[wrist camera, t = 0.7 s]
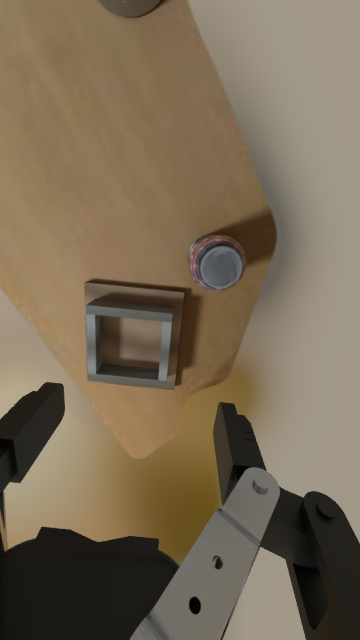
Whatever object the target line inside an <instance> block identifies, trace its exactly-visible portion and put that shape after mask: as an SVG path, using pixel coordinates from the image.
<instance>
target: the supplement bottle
mask: <svg viewBox="0 0 360 640" xmlns="http://www.w3.org/2000/svg"><path fill="white" fill-rule="evenodd" d="M189 267H190V272H191V275H192V277H193V279H194V281H195V282H196V283H197V284H198V285H199V286H200V287H202V288H203V289H205V290H208V291H212V292H221V291H225V290H228V289H230V288H232V287H233V286H234V285H236V284H237V283H238V282H239V281H240V279H241V278H242V276H243V274H244V271H245V267H246V257H245V253H244V251H243V249H242V247H241V246H240V244H239V243H238V242H237V241H236V240H234V239H233V238H231V237H228V236H226V235H219V234H211V235H205V236H203V237H201V238H199V239H198V240H196V241H195V243H194V244H193V245H192V247H191V249H190V252H189Z"/></svg>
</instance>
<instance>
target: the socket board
mask: <svg viewBox="0 0 360 640" xmlns="http://www.w3.org/2000/svg"><path fill="white" fill-rule="evenodd" d="M84 285H85V318H86V350H87V382H98V383H108V384H118V385H128V386H138V387H148V388H158V389H169V390H174V388H175V379H176V369H177V360H178V350H179V340H180V331H181V321H182V312H183V302H184V293H185V291H177V290H167V289H158V288H148V287H138V286H128V285H118V284H108V283H98V282H88V281H87V282H85V283H84Z"/></svg>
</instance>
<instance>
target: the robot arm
mask: <svg viewBox="0 0 360 640" xmlns="http://www.w3.org/2000/svg"><path fill="white" fill-rule="evenodd" d="M99 1H100V2H101V3H102V4H103V5H104V6H105V7H106V8H107V9H108V10H110V11H111V12H113V13H115V14H117V15H120V16H124V17H137V16H140V15H143V14H146V13H147V12H149V11H150V10H152V9H153V8H154V7H155V6H156V5H157V4H158V3H159V2H160V1H161V0H99ZM64 412H65V402H64V387H63V384H60V383H50V382H46V383H44V384H43V385H42V387H41V388H40V389H39V390H38V391H32V392H30V393H29V394H27V395H25V396H23V397H22V398H21V399H20V400H19V401H18V402H17V403H16V404H15V405H14V407H12V408H11V409H10V410H9V411H8V413H6V414H5V415H4V416H3V417H2V418H1V419H0V640H223V638H224V635H225V633H226V630H227V628H228V625H229V623H230V620H231V618H232V615H233V613H234V610H235V608H236V605H237V603H238V600H239V598H240V595H241V593H242V590H243V587H244V585H245V583H246V580H247V578H248V576H249V573H250V571H251V568H252V566H253V563H254V561H255V558H256V556H257V554H258V551H259V549H260V547H263V548H264V549H266V550H269V551H270V552H272V553H274V554H276V555H278V556H280V557H282V558H284V559H286V563H287V567H288V571H289V575H290V579H291V582H292V587H293V590H294V594H295V598H296V602H297V606H298V610H299V614H300V618H301V622H302V626H303V630H304V633H305V638H306V640H360V543H359V541H358V539H357V537H356V536H355V534H354V532H353V530H352V528H351V526H350V524H349V522H348V520H347V518H346V516H345V514H344V512H343V511H342V509H341V508H340V507H339V505H338V504H337V503H336V502H335V501H333V500H332V499H331V498H330V497H328V496H327V495H324V494H322V493H320V492H315V491H312V492H308V493H307V494H306V495H305V496H304V498H303V497H301V496H298V495H296V494H293V493H291V492H289V491H286V490H284V489H283V488H281V487H280V486H279V485H278V483H277V481H276V480H275V478H274V477H273V476H272V475H271V474H269V473H268V472H267V471H266V468H265V465H264V462H263V459H262V456H261V453H260V450H259V447H258V444H257V442H256V438H255V435H254V432H253V429H252V426H251V423H250V422H249V421H248V420H247V418H246V417H245V416H244V415H237V411H236V408H235V405H234V404H232V403H223V402H219V405H218V409H217V414H216V418H215V423H214V430H213V431H214V432H213V437H214V446H215V454H216V461H217V468H218V477H219V484H220V492H221V500H222V506H223V507H222V508H221V509H217V510H216V511H215V513H214V514H213V516H212V517H211V519H210V520H209V522H208V524H207V525H206V527H205V528H204V530H203V531H202V533H201V535H200V536H199V538H198V539H197V541H196V542H195V544H194V545H193V547H192V549H191V550H190V552H189V553H188V555H187V556H186V558H185V559H184V561H183V563H182V564H181V566H179V565H178V564H177V562H175V561H174V560H173V559H172V558H171V557H170V556H168V555H167V554H165V553H164V552H162V551H160V550H158V544H159V539H153V538H144V537H135V536H128V537H124V538H118V539H113V540H108V541H103V542H96V541H93V540H91V539H89V538H87V537H85V536H82V535H81V534H78V533H76V532H74V531H72V530H68V529H57V528H49V527H41V529H40V531H39V533H38V535H37V537H36V538H35V539H31V540H28V541H25V542H22V543H20V544H18V545H15V546H14V547H12V548H10V549H8V542H7V530H6V511H5V493H4V489H5V488H6V486H7V485H8V483H9V482H14V483H21V481H22V480H23V478H24V477H25V475H26V474H27V472H28V471H29V469H30V468H31V466H32V464H33V463H34V461H35V460H36V458H37V457H38V455H39V454H40V452H41V451H42V449H43V447H44V446H45V445H46V443H47V442H48V440H49V439H50V437H51V436H52V434H53V433H54V431H55V430H56V428H57V427H58V425H59V424H60V422H61V420H62V418H63V416H64Z"/></svg>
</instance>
